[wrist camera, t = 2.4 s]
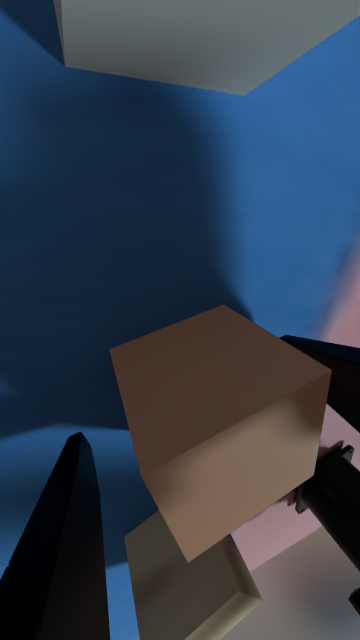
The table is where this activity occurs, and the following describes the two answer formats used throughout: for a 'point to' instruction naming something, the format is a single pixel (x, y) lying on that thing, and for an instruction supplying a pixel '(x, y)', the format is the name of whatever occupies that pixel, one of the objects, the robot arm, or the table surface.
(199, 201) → the table surface
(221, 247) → the table surface
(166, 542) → the birch block
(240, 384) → the brown block
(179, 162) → the table surface
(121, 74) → the off-white block
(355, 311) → the table surface
